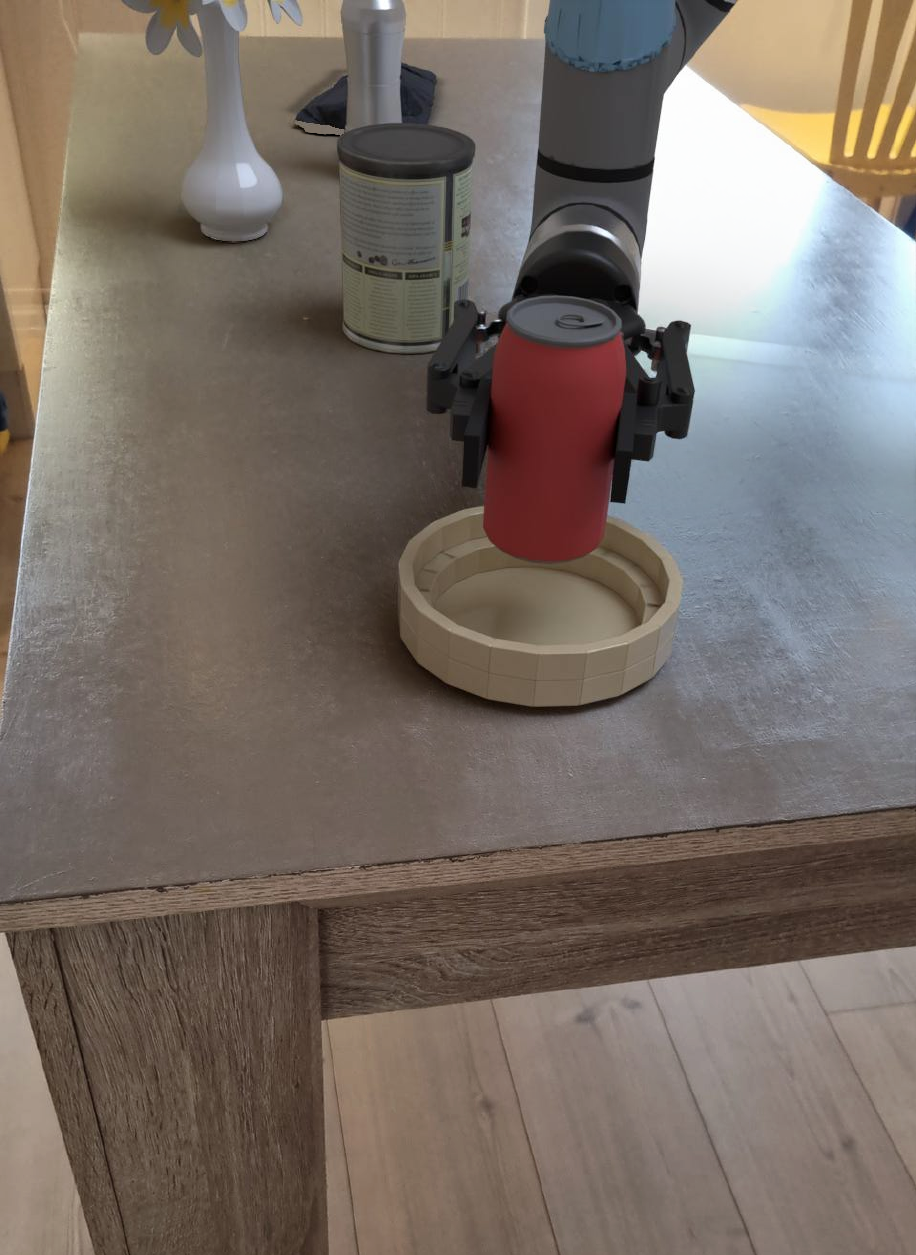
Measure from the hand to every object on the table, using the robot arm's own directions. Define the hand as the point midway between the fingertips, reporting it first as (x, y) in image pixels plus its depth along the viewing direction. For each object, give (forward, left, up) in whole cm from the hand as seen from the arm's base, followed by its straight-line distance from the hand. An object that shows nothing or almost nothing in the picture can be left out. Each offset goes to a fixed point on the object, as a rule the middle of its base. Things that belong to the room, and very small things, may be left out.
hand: (545, 469), depth 62 cm
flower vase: (+39, -62, -13) cm, 74 cm away
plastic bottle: (+31, -83, -13) cm, 90 cm away
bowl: (0, -5, -13) cm, 14 cm away
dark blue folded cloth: (+38, -106, -13) cm, 113 cm away
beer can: (0, -5, -7) cm, 8 cm away
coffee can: (+18, -45, -13) cm, 50 cm away
